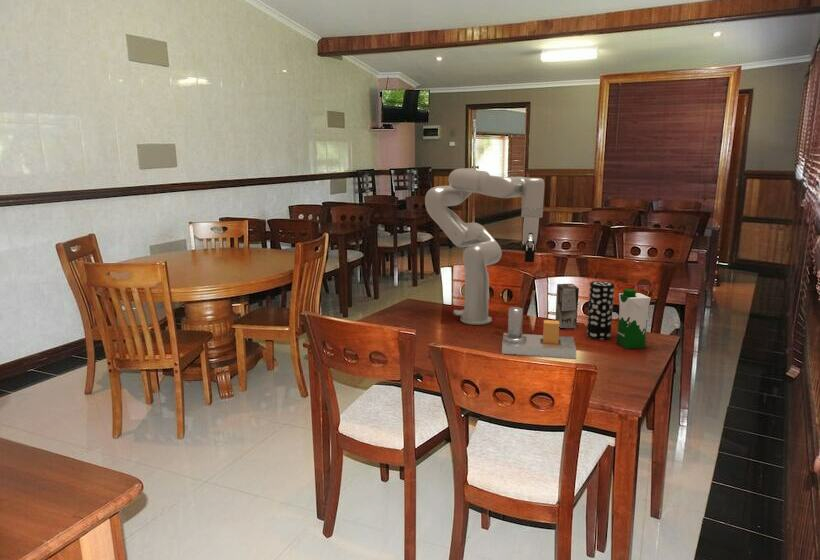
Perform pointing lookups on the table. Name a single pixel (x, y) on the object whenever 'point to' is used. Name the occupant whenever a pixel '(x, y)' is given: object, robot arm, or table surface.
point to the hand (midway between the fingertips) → (529, 259)
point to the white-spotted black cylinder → (600, 310)
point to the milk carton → (632, 319)
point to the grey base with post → (533, 340)
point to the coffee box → (567, 305)
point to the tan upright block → (551, 332)
